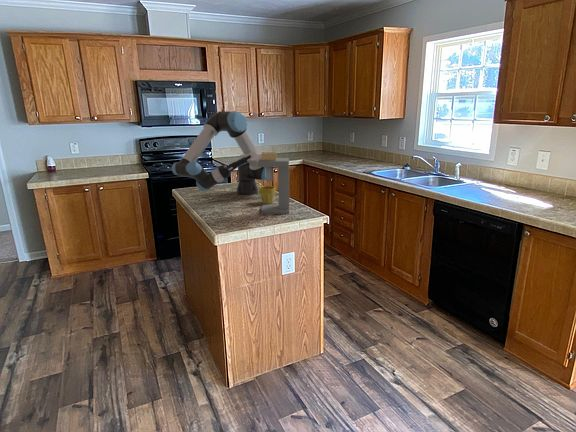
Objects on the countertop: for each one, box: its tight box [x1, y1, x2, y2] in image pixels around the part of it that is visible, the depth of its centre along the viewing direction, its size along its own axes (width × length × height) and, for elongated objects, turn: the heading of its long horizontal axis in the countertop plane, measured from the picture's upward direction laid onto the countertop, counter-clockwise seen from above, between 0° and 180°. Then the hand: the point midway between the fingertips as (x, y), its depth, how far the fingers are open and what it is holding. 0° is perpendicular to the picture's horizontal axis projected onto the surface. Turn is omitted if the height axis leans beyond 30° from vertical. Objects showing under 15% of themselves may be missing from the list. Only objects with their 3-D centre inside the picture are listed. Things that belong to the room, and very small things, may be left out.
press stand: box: [258, 157, 290, 215], centre depth 216 cm, size 12×17×30 cm
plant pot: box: [258, 185, 276, 205], centre depth 237 cm, size 10×10×10 cm
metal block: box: [240, 151, 278, 161], centre depth 211 cm, size 6×20×4 cm, turn 89°
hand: (256, 152), depth 210 cm, fingers closed on metal block, 3 cm apart
